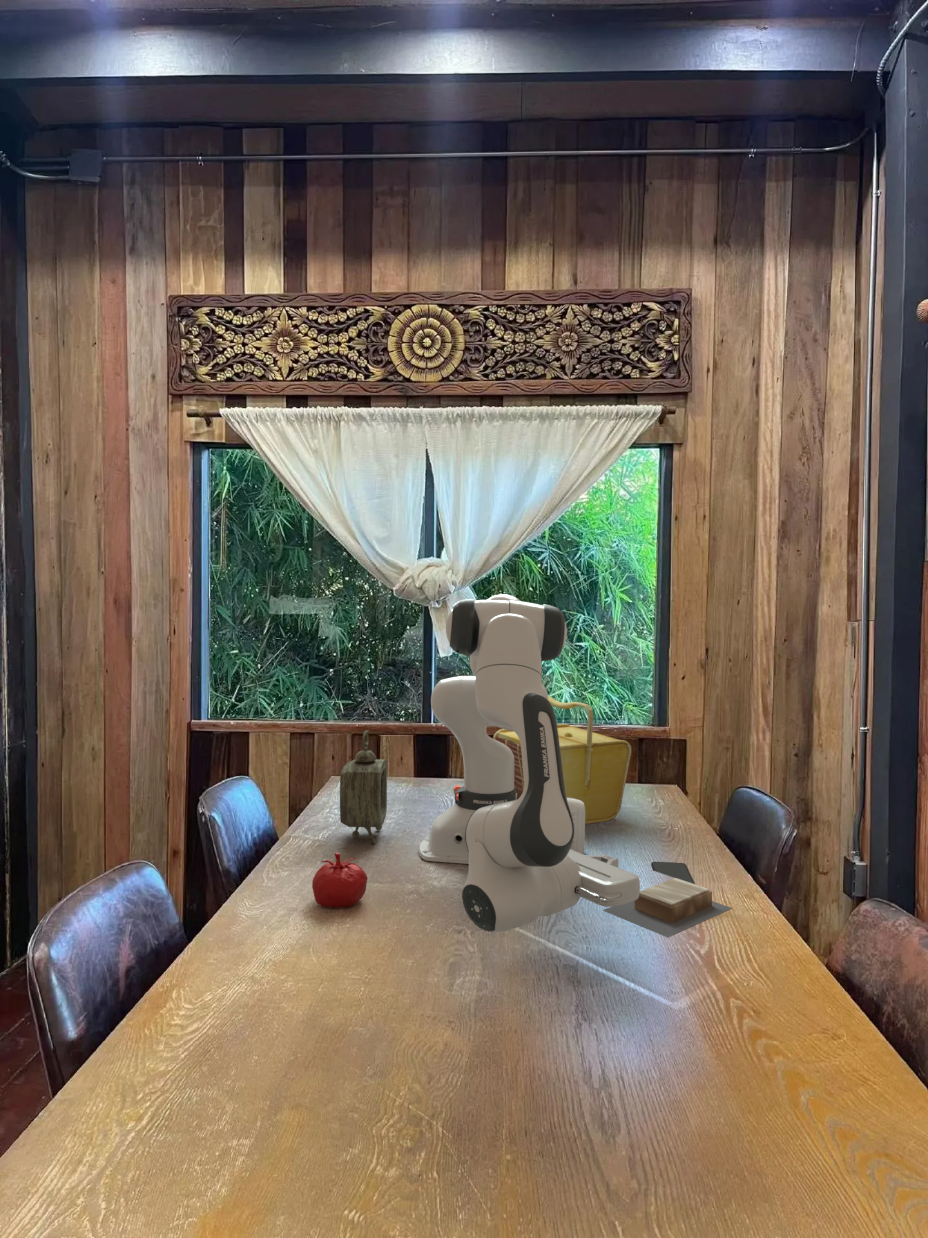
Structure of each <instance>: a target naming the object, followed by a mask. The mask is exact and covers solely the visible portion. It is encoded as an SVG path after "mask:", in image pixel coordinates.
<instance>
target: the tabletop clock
mask: <svg viewBox="0 0 928 1238" xmlns="http://www.w3.org/2000/svg"><path fill="white" fill-rule="evenodd" d="M365 740H366V741H365ZM361 743H362V744H361V745H362V750H360V751H358V752H357V753H356V754H355V757H354V759H353V760H350V761H348V762H347V763H346V764H345V765H344V766H343V767H342V769H341V772H340V777H339V813H340V814H339V819H340V823H342V825H345V826H347V827H348V828H355V830H354V831H352V833H351V836H352V837H353V839H354V838H355V839H357V838H358V837H359V835H360V832H359V828H364V829H365V830H366V832H367V834H368V836H369V839H368V842H369V844H370V845H372V846H373V845H376V843H377V839H376V838H375V837H374V836H373V834H372V829H371V828H375V829H376V831H381V830H382V828H383V824H384V823H385V821H386V816H387V809H388V807H387V806H388V797H387V796H388V767H387V766H388V763H387V759H385V758H384V759H378V758H377V756H376V755H375V753H374V751H372V750H369V731H368V730H364V732H363V734H362V741H361Z"/></svg>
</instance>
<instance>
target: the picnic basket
mask: <svg viewBox="0 0 928 1238" xmlns="http://www.w3.org/2000/svg"><path fill="white" fill-rule="evenodd" d="M548 701H549V702H550V704H551V706H552V707H555V708H558V709H563V710H571V709H574V708H575V707H580V708H584V709H585V710H586V712H587V727H586V729H583V728H580V727H576V726H574V725H570V724H568V723H557V729H558V736H559V744H560V752H561V760H562V769H563V777H564V785H565V792H566V797H567V798H573V799H577V800H580V801H582V802H583V803H584V806H585V825H590V824H598V823H604V822H608V821H612V820H613V819H614V818H616V817H617V816H618V814H620V810H621V808H622V802H623V798H624V793H625V792H624V791H625V787H626V781H627V778H628V771H629V766H630V761H631V755H632V746H631V744H630V742H628V741H626V740H623V739H618V738H614V737H611V736H608V735H604V734H601V733H597V732H593V730H594V729H593V727H594V713H593V709H592V708H591V706H590V705H589V704H587V703H584V702H580V701H579V702H578V701H571V702H569V701H568V702H561V701H558V700H556V699H555V698H553V697H551V696H550V695H548ZM492 739H495V740H497V741H499V742H501V743H503V744H504V745H506V746H507V747H509V748H510V750H511V751H512V753H513V755H514V787H515V788H516V793H517V800H518V799H519V798H520V796H521V795H522V793H523V790H524V776H523V765H522V753H521V744H520V740H519V737H518V735H517V734H516V733H515V732H514V731H510V730H506V729H503V728H500V729H498V730H497V731H496V732H495V733H494V734H493V737H492Z"/></svg>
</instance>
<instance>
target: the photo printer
mask: <svg viewBox="0 0 928 1238" xmlns="http://www.w3.org/2000/svg"><path fill="white" fill-rule="evenodd" d="M567 801H568V805H569V808H570V811H571V815H572V818H573V823H574V838H573V843H572V846H571V848H570V849H571V850H574V851H576V852H579V853H582V854H584V855H585V845H586V844H585V841H586V839H585V838H586V834H585V833H586V824H585V806H584V803H583V802H582V801H580V800H577V799H573V798H567Z"/></svg>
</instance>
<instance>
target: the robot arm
mask: <svg viewBox="0 0 928 1238" xmlns="http://www.w3.org/2000/svg"><path fill="white" fill-rule="evenodd" d="M445 634H446V638H447V641H448V643H449V648H450V649H452V651H453V652H454V653H457V654H459V655H461V656H465V657H469V667H470V669H471V672H472V674H473V675H458V676H451V677H448V678H443V679H440V680H439V681H438V682H437V683H436V685H434V687H433V689H432V692H431V696H430V705H431V710H432V713H433V715H434V716H435V718H436V719H437V720H438V721H439V722H440V723H441V724H442V725H444V726H445V727H446V728H447V729H448V730H449V731H451V733H452V735H454V737H455V738H456V740H457V742H458V745H459V747H460V751H461V755H462V759H463V760H462V761H463V777H464V779H463V780H464V783H463V784H464V786H461V785H460V784H456V785H454V787H453V794H454V804H453V805H452V806H451V807H449V808H448V809H447V810H445V811H444V812H442V813H441V814H440V815H438V816H437V817H436V818H435V819H434V820H433V822H432V824H431V827H430V830H429V836H428V837H427V838H424V839H423V840H422V841H421V842H420V844H419V850H418V851H419V852H418V854H419V857H420V858H422V859H423V860H424V861H429V862H437V863H438V862H440V863H452V864H465V865H467V864H468V870H467V871H468V872H467V877H466V880H465V883H464V884H463V887H462V891H461V900H462V904H463V908H464V911H465V912H466V914H467V916H468V918H469V920H471V922H472V923H473V924H474V925H475V926H476V927H478V928H479V929H480V930H483V931H485V932H490V933H502V932H507V931H510V930H514V929H518V928H520V927H523V926H526V925H529V924H531V923H533V922H535V921H536V920H537V919H538V918H539V917H549V916H551V915H555V914H557V913H560V912H563V911H565V910H567V909H570V908H572V907H574V906H576V905H577V903H578V902H579V901H580V898H583V899H584V900H586V901H589V902H591V903H594V904H596V905H598V906H601V907H606V908H610V907H613V906H618V905H622V904H626V903H629V902H632V901H635V900H637V899H638V898H639V893H640V891H641V886H640V885H641V881H640V877H639V875H638V874H635V873H633V872H630V871H627V870H625V869H623V868H619V867H620V865H619V863H620V862H619V858H616V857H613V856H611V855H608V854H605V853H602V854H600V855H594V854H593V855H589V854H588V855H586V854H585V853H584V854H582V853H579V852H576V851H574V850H571V849H570V848H571V846H572V843H573V838H574V823H573V818H572V815H571V811H570V808H569V805H568V801H567V797H566V792H565V785H564V777H563V769H562V760H561V752H560V744H559V736H558V729H557V724H558V722H557V719H556V718H557V717H556V714H555V711H554V708H553V705H551V704H550V702H549V701H548V696H549V695H548V692H547V689H546V687H545V685H544V684H543V682H542V681H543V679H542V677H543V676H542V673H543V671H542V670H543V667H542V662H548V661H554V660H555V659H557V658H558V657H559V656H560V655H561V653H562V651H563V649H564V647H565V644H566V641H567V637H568V628H567V623H566V619H565V615H564V613H563V612H562V611H561V609H560V608H558V607H556V606H554V605H550V604H546V603H543V604H542V605H541V604H538V603H533V602H528V601H523V600H522V601H521V600H520V599H519V598H517V597H516V596H513V595H511V594H504V593H503V594H501V593H500V594H496V595H493V596H490V597H489V598H487V599H478V600H477V599H476V600H475V599H474V598H466V599H460V600H458V601H456V602H455V603H454V604H453V605H452V609H451V610H450V611H449V614H448V615H447V618H446V623H445ZM492 726H493V727H498V728H500V729H506V730H510V731H514V732H515V733H516V734H517V735H518V737H519V740H520V744H521V753H522V765H523V776H524V790H523V793H522V795H521V796H520V798H519V799H518V800H517V793H516V788H515V787H514V755H513V753H512V751H511V750H510V748H509V747H507V746H506V745H504V744H503V743H501V742H499V741H497V740H495V739H493V737H491V736H489V734H488V733H487V728H488V727H492Z"/></svg>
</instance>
